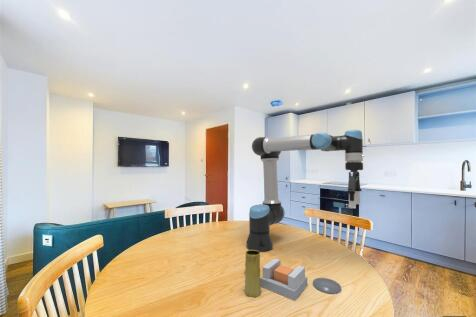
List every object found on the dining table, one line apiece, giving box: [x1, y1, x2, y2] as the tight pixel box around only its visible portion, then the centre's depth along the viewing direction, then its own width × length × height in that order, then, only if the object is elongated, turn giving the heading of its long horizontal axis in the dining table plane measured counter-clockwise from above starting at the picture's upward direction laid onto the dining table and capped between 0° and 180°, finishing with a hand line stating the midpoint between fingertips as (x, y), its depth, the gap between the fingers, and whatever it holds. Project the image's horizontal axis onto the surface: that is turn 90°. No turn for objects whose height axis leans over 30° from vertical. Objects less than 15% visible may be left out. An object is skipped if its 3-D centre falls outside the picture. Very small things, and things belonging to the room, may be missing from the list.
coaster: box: [312, 277, 342, 295], centre depth 80 cm, size 10×10×1 cm
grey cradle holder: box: [260, 258, 308, 301], centre depth 80 cm, size 14×12×7 cm
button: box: [274, 264, 295, 285], centre depth 80 cm, size 6×6×4 cm
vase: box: [244, 249, 262, 298], centre depth 76 cm, size 6×6×14 cm
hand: (354, 206), depth 100 cm, fingers open, 13 cm apart
